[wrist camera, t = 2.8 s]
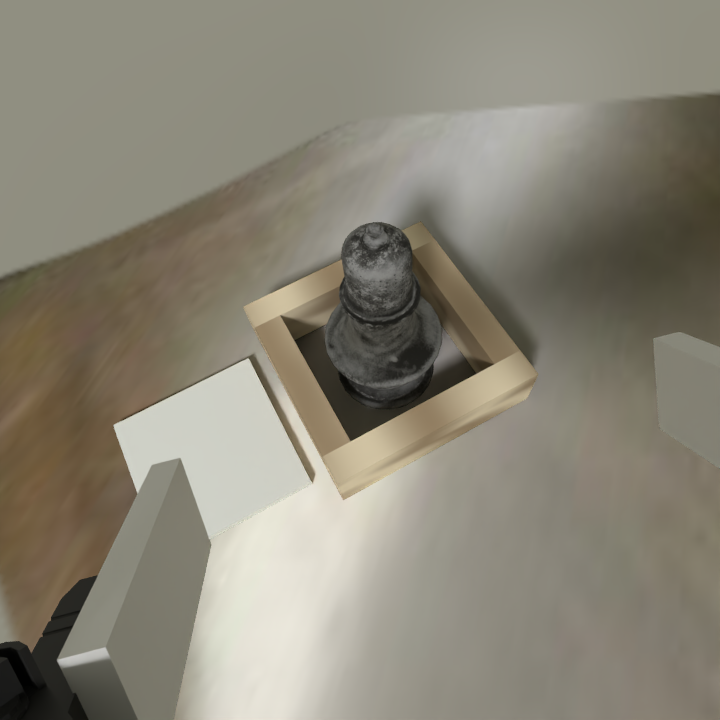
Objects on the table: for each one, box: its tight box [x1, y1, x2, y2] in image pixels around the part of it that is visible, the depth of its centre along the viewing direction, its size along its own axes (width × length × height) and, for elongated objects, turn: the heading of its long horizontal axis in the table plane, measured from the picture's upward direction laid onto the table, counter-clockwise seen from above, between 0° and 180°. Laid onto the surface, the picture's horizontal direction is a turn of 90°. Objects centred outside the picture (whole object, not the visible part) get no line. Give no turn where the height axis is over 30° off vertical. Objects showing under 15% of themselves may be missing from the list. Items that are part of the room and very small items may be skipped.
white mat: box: [113, 358, 312, 540], centre depth 31 cm, size 8×8×1 cm
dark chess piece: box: [325, 222, 442, 409], centre depth 27 cm, size 6×6×12 cm
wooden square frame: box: [243, 221, 538, 500], centre depth 31 cm, size 11×11×3 cm
